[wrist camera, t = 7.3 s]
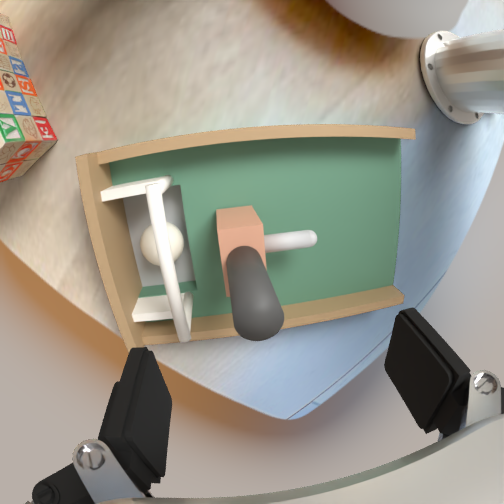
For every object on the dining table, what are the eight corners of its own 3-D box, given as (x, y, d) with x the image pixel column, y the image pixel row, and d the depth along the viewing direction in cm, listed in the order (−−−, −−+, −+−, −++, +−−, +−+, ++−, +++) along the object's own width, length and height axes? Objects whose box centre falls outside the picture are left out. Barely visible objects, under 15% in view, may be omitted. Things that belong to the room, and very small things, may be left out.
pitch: (386, 128, 26) (443, 130, 18) (381, 283, 33) (422, 322, 24) (107, 152, 24) (62, 159, 15) (144, 317, 30) (126, 373, 22)
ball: (127, 228, 24) (157, 215, 27) (136, 269, 25) (164, 253, 29) (158, 230, 22) (189, 216, 25) (167, 276, 24) (195, 257, 27)
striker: (304, 199, 25) (382, 254, 13) (306, 252, 27) (371, 336, 15) (216, 209, 24) (219, 277, 12) (223, 263, 26) (233, 363, 14)
